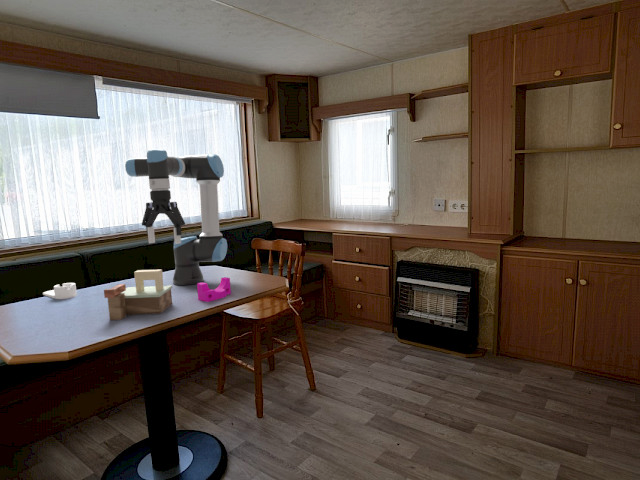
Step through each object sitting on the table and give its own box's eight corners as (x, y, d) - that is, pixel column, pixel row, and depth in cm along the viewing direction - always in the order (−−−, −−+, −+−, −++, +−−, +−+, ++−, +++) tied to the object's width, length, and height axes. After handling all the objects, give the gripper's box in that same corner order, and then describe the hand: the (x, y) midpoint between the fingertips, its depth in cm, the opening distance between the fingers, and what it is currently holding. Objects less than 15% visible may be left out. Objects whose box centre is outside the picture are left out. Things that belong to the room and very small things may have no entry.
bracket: (80, 297, 200) (79, 283, 199) (61, 302, 193) (59, 288, 192) (60, 293, 211) (58, 279, 211) (41, 297, 204) (39, 283, 204)
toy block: (206, 302, 183) (205, 285, 183) (198, 300, 188) (197, 283, 187) (234, 294, 195) (233, 278, 194) (225, 292, 199) (224, 277, 198)
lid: (128, 289, 181) (126, 268, 180) (172, 287, 181) (170, 266, 180) (111, 298, 167) (108, 275, 165) (159, 296, 166) (157, 273, 165)
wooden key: (118, 290, 169) (118, 283, 169) (126, 290, 169) (126, 282, 169) (104, 297, 158) (103, 290, 158) (113, 297, 158) (112, 289, 158)
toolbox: (130, 305, 182) (128, 284, 181) (172, 304, 182) (170, 283, 181) (107, 319, 163) (105, 296, 161) (154, 318, 162) (152, 294, 161)
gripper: (129, 191, 168) (134, 244, 171) (178, 189, 158) (182, 245, 161) (143, 190, 175) (148, 241, 178) (191, 188, 165) (195, 242, 168)
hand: (164, 243), depth 170 cm, fingers open, 13 cm apart
